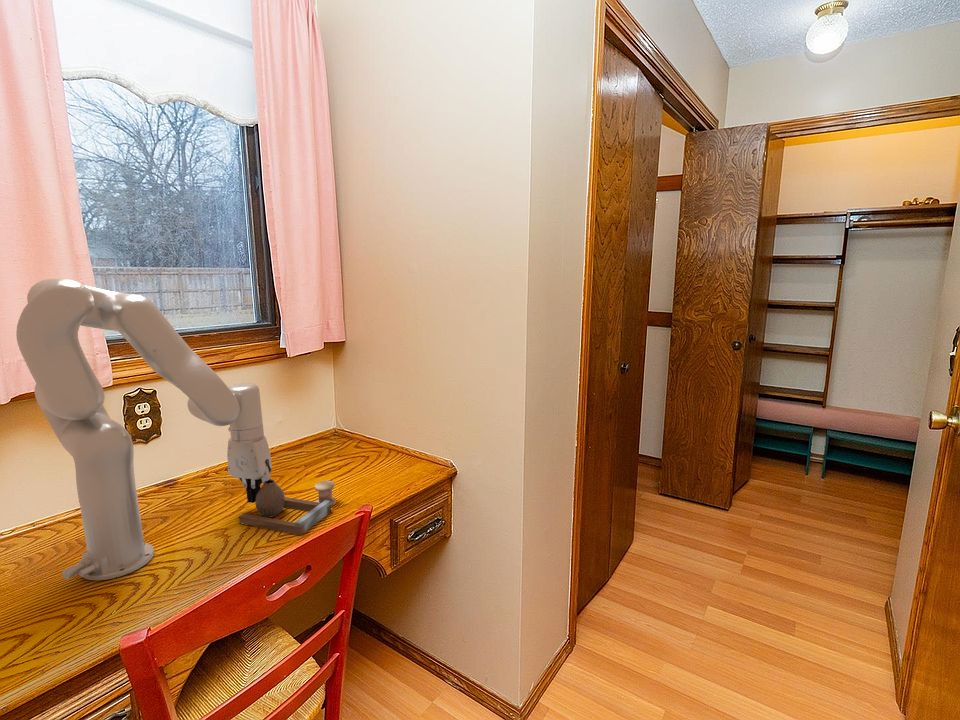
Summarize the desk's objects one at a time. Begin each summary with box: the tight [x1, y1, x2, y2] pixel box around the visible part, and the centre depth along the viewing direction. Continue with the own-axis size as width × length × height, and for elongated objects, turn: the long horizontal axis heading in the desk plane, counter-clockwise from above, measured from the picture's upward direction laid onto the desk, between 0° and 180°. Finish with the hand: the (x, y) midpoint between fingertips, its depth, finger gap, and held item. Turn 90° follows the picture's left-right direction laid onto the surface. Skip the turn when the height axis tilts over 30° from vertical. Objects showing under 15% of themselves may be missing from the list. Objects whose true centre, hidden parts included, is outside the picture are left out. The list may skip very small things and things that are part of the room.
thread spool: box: [314, 480, 337, 507], centre depth 131 cm, size 5×5×5 cm
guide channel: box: [238, 496, 332, 536], centre depth 123 cm, size 12×18×3 cm, turn 72°
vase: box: [254, 479, 286, 518], centre depth 125 cm, size 7×7×9 cm
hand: (254, 500), depth 127 cm, fingers closed
